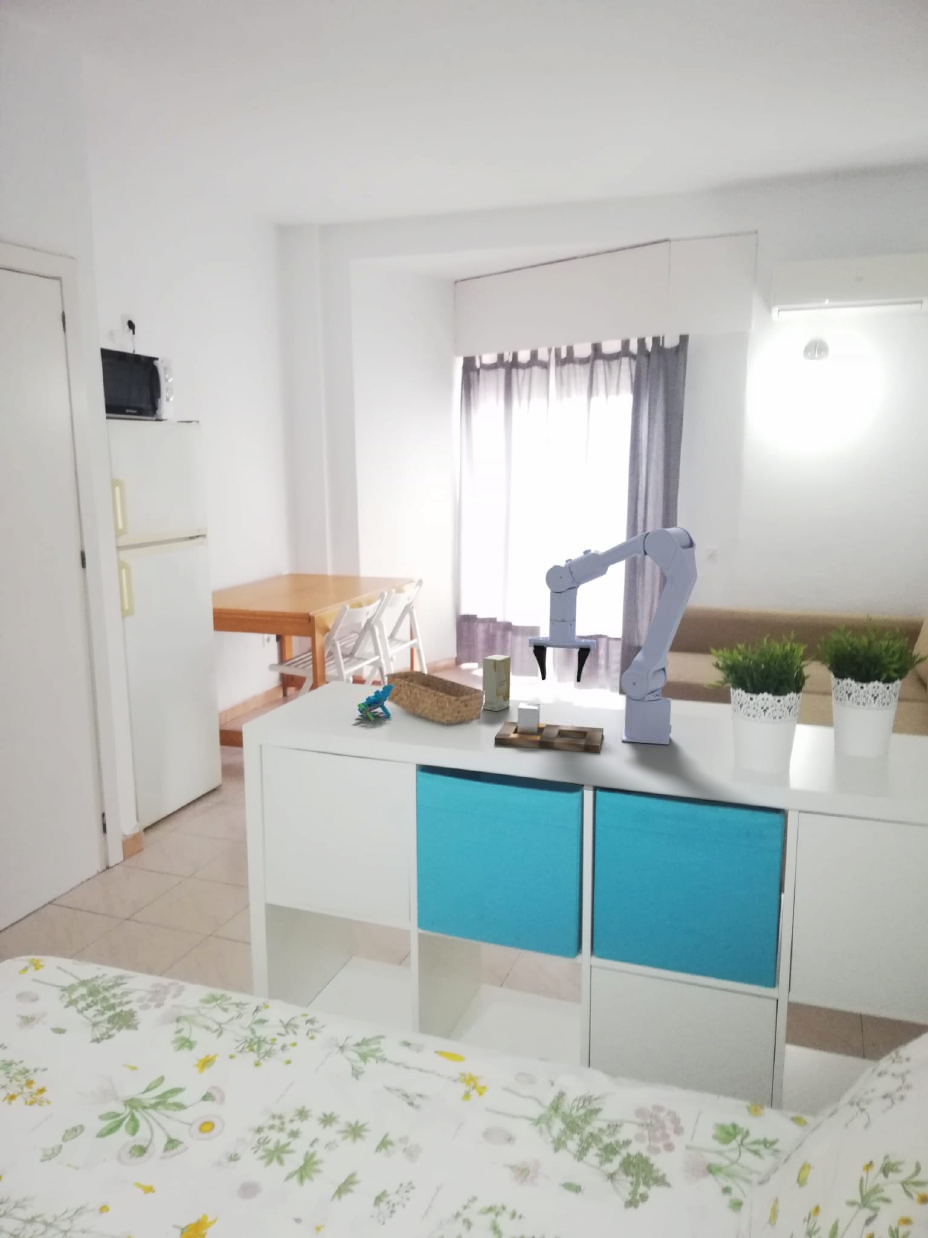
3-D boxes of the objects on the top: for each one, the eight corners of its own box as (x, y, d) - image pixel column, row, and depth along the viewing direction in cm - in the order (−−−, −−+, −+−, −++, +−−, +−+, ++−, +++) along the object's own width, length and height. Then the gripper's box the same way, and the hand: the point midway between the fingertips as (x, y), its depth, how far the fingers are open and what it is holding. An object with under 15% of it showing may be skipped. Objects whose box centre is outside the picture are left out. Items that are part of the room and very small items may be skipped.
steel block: (539, 736, 179) (539, 703, 178) (536, 742, 175) (537, 708, 174) (520, 735, 180) (520, 702, 179) (517, 740, 176) (517, 707, 175)
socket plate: (603, 735, 180) (603, 727, 180) (599, 752, 168) (599, 744, 168) (505, 728, 185) (505, 720, 184) (494, 744, 173) (494, 736, 173)
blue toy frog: (380, 700, 201) (399, 676, 194) (395, 720, 199) (414, 697, 193) (345, 716, 192) (364, 692, 186) (360, 737, 191) (379, 713, 185)
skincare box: (497, 712, 197) (498, 660, 195) (481, 709, 199) (481, 658, 197) (510, 706, 203) (511, 655, 201) (494, 703, 205) (495, 653, 203)
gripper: (597, 618, 188) (595, 678, 191) (532, 615, 192) (531, 674, 194) (595, 623, 182) (593, 685, 184) (527, 620, 185) (526, 681, 187)
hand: (561, 680), depth 188 cm, fingers open, 7 cm apart
